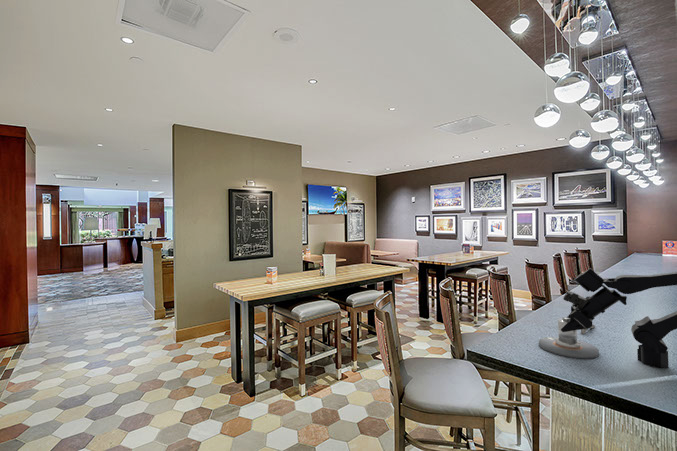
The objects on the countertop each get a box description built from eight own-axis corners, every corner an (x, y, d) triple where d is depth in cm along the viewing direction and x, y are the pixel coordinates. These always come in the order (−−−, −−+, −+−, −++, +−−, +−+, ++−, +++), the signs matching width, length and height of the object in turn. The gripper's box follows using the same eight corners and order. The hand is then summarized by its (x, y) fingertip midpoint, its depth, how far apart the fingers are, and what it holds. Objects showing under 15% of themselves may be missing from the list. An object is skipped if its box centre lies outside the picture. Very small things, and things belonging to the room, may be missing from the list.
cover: (586, 348, 113) (585, 320, 113) (568, 350, 112) (567, 321, 112) (567, 340, 120) (566, 315, 121) (550, 342, 119) (549, 316, 119)
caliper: (584, 337, 131) (583, 322, 131) (580, 336, 132) (580, 322, 132) (595, 327, 144) (594, 313, 145) (592, 326, 145) (591, 313, 145)
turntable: (612, 355, 109) (612, 352, 109) (568, 360, 106) (568, 357, 106) (566, 338, 127) (566, 335, 127) (527, 342, 123) (527, 339, 123)
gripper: (578, 280, 121) (545, 305, 128) (578, 288, 107) (541, 315, 113) (606, 303, 117) (570, 328, 123) (610, 314, 102) (569, 342, 108)
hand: (562, 327), depth 117 cm, fingers open, 9 cm apart
